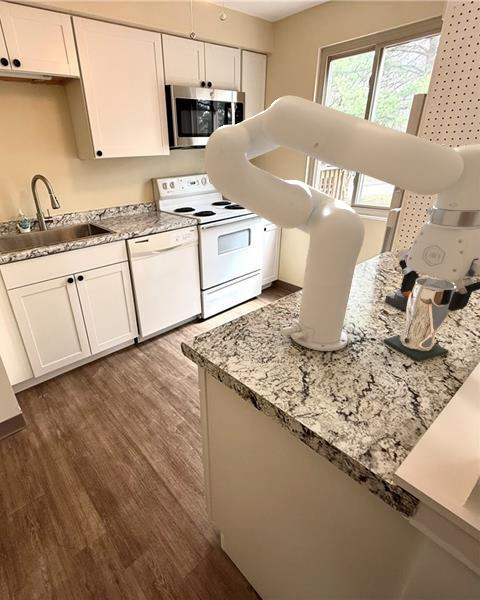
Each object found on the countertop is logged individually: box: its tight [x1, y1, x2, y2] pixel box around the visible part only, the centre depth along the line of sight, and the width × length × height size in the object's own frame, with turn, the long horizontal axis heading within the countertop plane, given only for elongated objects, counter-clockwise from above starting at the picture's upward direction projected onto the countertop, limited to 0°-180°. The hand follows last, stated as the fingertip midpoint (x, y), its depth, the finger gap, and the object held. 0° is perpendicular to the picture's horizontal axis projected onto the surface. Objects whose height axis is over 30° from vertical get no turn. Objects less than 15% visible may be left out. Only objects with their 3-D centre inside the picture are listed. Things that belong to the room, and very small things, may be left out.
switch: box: [402, 291, 411, 297], centre depth 84 cm, size 4×4×2 cm
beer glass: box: [399, 276, 458, 352], centre depth 66 cm, size 7×7×15 cm
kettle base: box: [384, 289, 409, 312], centre depth 86 cm, size 12×9×4 cm
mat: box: [383, 334, 449, 362], centre depth 70 cm, size 8×8×1 cm
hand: (429, 299), depth 65 cm, fingers open, 9 cm apart
